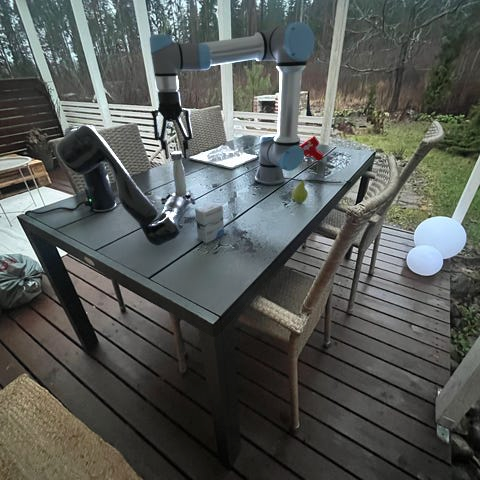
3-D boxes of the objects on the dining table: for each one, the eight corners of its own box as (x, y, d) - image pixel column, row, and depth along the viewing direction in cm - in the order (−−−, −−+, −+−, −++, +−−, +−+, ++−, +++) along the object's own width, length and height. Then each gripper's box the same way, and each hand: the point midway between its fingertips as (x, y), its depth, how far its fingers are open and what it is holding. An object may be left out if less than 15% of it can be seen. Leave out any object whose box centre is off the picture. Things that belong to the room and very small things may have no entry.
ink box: (215, 229, 101) (213, 200, 95) (224, 234, 98) (223, 205, 92) (197, 238, 96) (194, 208, 90) (206, 243, 93) (203, 213, 87)
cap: (179, 156, 108) (178, 150, 107) (184, 158, 106) (183, 152, 104) (169, 158, 106) (168, 152, 105) (174, 160, 103) (173, 154, 102)
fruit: (288, 200, 123) (290, 174, 116) (302, 197, 125) (305, 172, 119) (296, 206, 118) (299, 179, 111) (310, 203, 120) (314, 177, 114)
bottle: (183, 205, 120) (176, 152, 108) (190, 207, 118) (184, 154, 106) (176, 208, 117) (168, 155, 104) (183, 211, 115) (176, 156, 102)
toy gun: (327, 155, 171) (314, 135, 167) (326, 157, 167) (314, 136, 164) (302, 170, 181) (290, 151, 177) (301, 172, 177) (288, 153, 174)
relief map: (231, 168, 161) (231, 160, 158) (189, 159, 179) (189, 151, 176) (257, 158, 179) (257, 150, 176) (217, 150, 197) (216, 142, 194)
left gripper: (192, 200, 100) (198, 183, 114) (153, 200, 100) (164, 183, 114) (194, 218, 104) (200, 199, 118) (156, 218, 104) (167, 199, 118)
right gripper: (197, 89, 97) (202, 154, 109) (142, 90, 96) (154, 155, 109) (195, 91, 90) (201, 160, 103) (136, 91, 90) (149, 161, 102)
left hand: (182, 191), depth 116 cm, fingers closed on bottle, 4 cm apart
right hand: (176, 157), depth 106 cm, fingers open, 6 cm apart
